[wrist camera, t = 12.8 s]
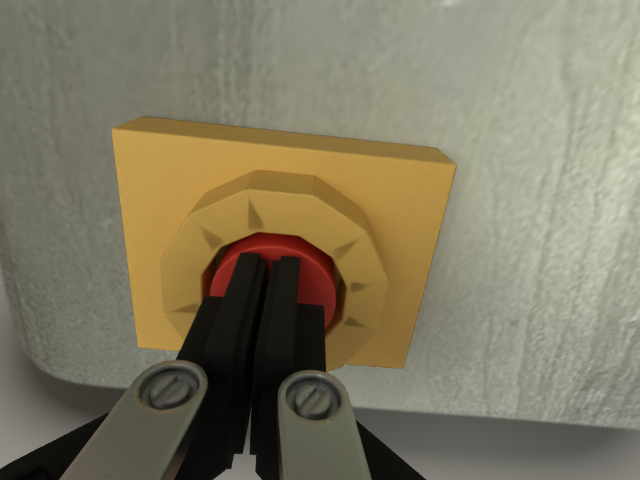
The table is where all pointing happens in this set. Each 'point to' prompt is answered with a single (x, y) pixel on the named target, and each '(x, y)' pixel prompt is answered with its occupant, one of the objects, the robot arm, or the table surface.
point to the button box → (280, 223)
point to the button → (313, 261)
